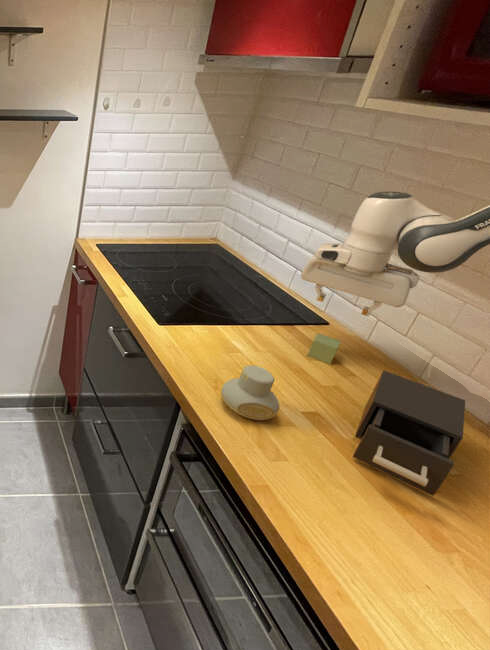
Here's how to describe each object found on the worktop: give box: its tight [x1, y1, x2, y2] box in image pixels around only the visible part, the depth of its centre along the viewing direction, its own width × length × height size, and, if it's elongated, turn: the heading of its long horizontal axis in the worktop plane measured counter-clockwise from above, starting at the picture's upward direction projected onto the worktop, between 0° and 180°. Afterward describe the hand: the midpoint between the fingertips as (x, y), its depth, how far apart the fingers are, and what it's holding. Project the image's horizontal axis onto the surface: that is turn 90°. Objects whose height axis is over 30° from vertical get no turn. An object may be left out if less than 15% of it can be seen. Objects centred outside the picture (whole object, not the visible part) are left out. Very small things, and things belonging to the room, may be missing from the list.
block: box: [307, 333, 342, 365], centre depth 118 cm, size 5×5×5 cm
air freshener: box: [221, 365, 280, 421], centre depth 98 cm, size 11×8×10 cm
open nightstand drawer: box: [352, 407, 455, 497], centre depth 85 cm, size 18×11×8 cm, turn 132°
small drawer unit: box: [354, 369, 466, 459], centre depth 92 cm, size 15×13×10 cm
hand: (341, 307), depth 113 cm, fingers open, 8 cm apart
